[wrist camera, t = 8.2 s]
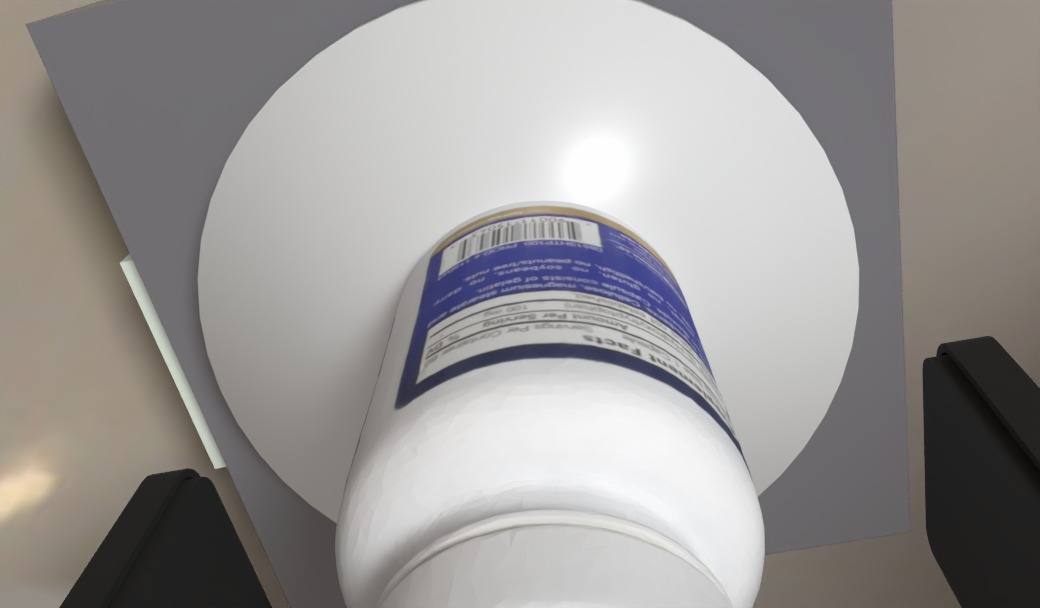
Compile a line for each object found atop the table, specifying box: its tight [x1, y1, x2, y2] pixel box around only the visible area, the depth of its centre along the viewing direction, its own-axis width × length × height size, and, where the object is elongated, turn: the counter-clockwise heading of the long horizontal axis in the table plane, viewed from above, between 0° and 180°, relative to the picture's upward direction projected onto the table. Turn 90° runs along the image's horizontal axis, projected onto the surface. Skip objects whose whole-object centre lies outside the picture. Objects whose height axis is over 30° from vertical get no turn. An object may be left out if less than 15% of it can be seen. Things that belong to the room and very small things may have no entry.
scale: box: [26, 0, 910, 608], centre depth 18 cm, size 14×14×3 cm
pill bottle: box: [335, 201, 765, 608], centre depth 12 cm, size 5×5×9 cm
